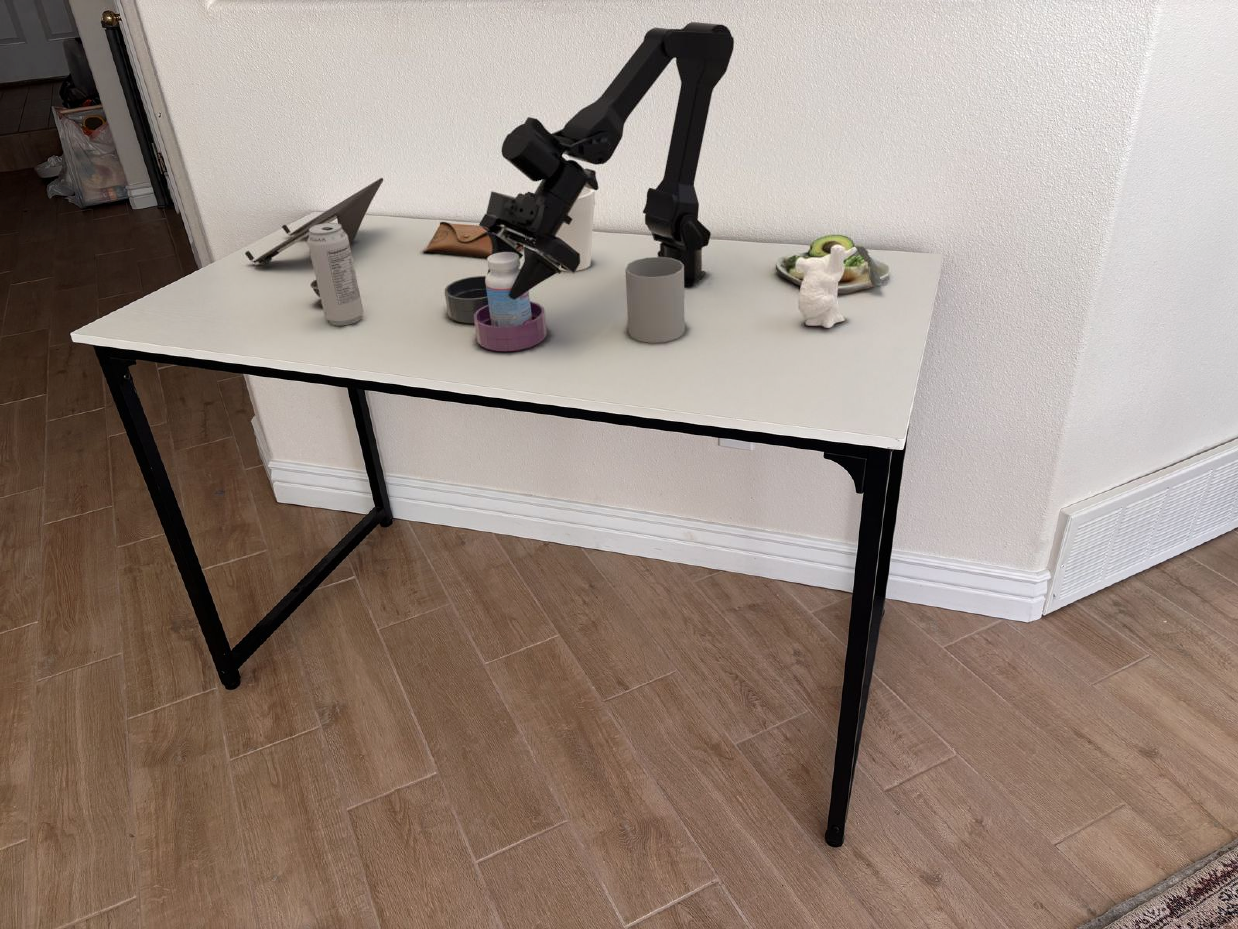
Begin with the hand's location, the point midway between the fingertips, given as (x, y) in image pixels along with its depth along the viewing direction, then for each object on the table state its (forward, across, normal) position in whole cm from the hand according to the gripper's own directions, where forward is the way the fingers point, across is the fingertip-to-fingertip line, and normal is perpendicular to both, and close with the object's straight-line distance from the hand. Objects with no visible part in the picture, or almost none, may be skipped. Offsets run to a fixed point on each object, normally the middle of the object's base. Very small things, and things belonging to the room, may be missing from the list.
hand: (499, 292), depth 135 cm
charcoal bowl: (+3, -12, +7) cm, 15 cm away
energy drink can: (+16, -25, -5) cm, 30 cm away
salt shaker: (+14, -34, -4) cm, 37 cm away
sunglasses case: (-7, -39, +18) cm, 44 cm away
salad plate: (-32, +17, +44) cm, 57 cm away
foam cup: (-13, -19, +24) cm, 33 cm away
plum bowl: (+5, 0, +6) cm, 8 cm away
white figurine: (-21, +29, +32) cm, 48 cm away
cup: (-7, +13, +18) cm, 24 cm away
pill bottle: (+4, 0, +6) cm, 7 cm away
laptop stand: (+8, -61, +3) cm, 62 cm away
